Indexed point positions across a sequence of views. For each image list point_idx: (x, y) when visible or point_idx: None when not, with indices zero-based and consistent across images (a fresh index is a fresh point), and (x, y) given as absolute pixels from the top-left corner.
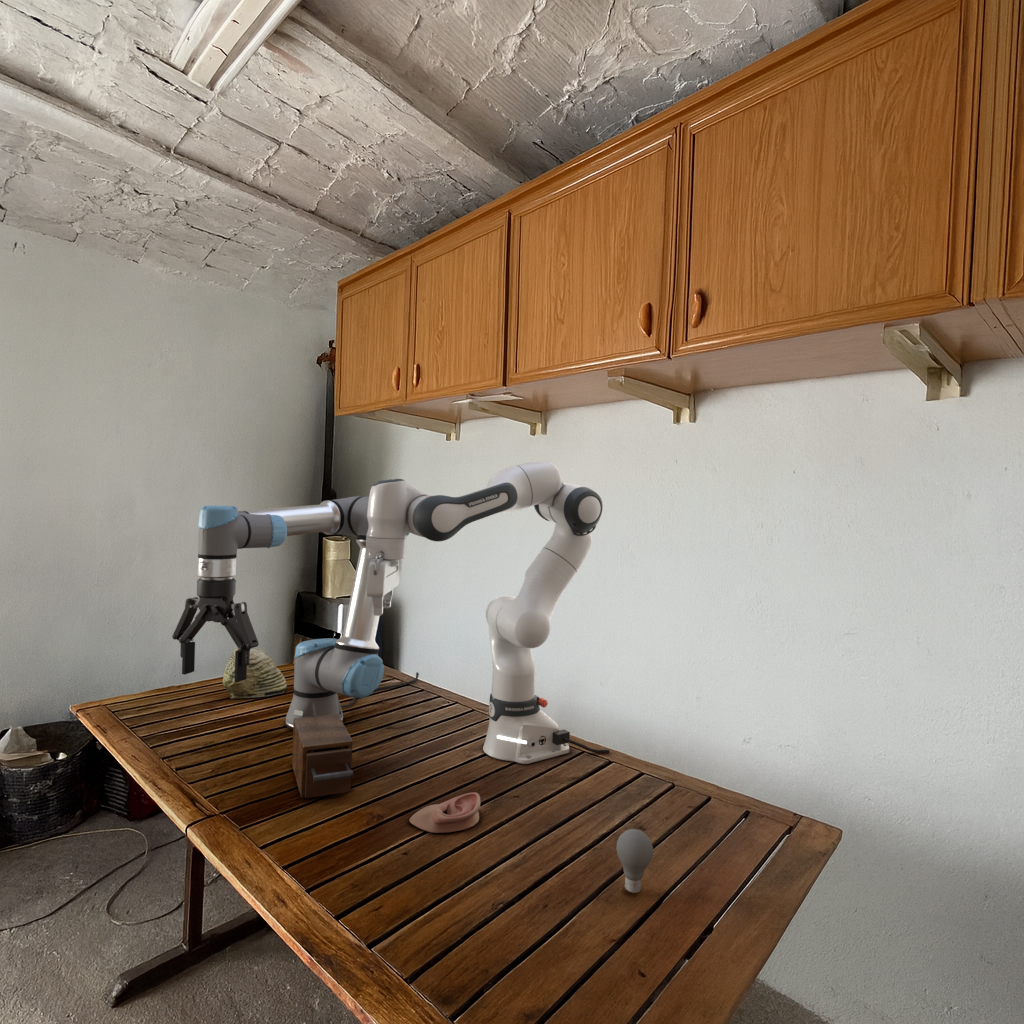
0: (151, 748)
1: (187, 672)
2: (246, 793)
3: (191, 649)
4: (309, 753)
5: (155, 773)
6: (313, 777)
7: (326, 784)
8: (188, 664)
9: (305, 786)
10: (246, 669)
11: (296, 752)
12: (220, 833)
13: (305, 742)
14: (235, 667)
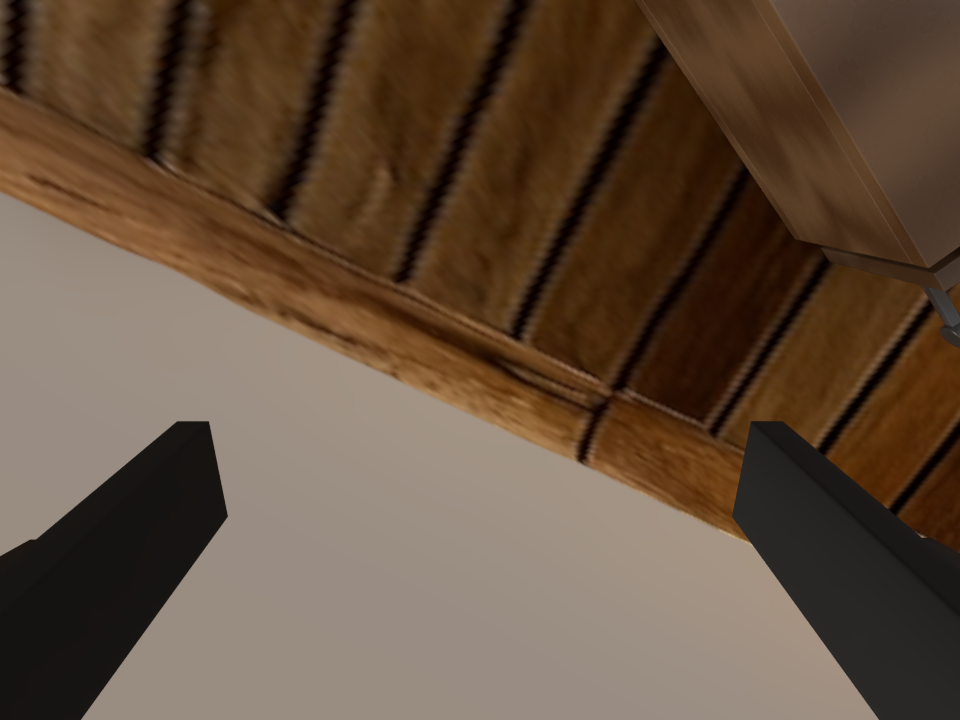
0: (20, 94)
1: (218, 498)
2: (611, 271)
3: (59, 630)
4: (947, 270)
5: (244, 266)
6: (956, 339)
7: None
8: (178, 534)
9: (843, 256)
10: (837, 469)
11: (753, 96)
12: (677, 463)
13: (921, 218)
14: (809, 612)
